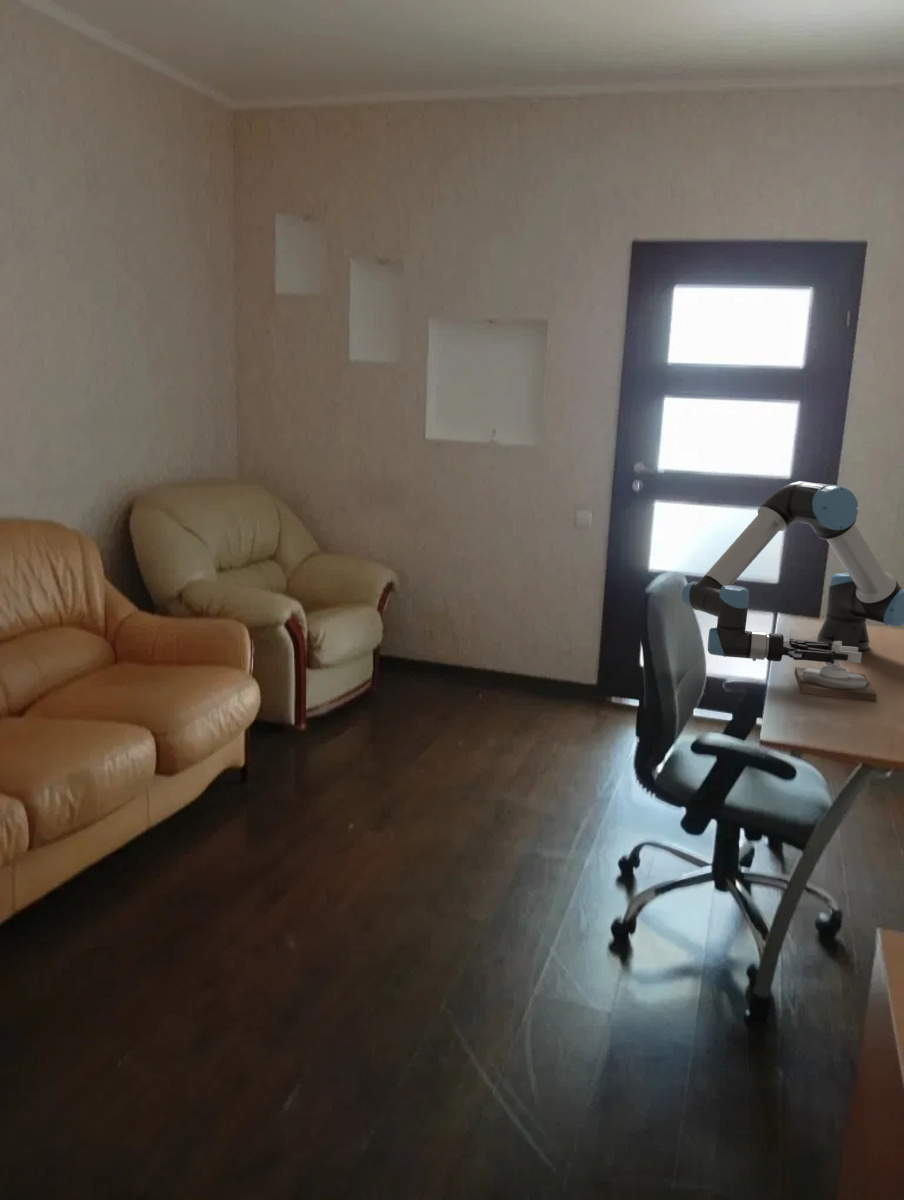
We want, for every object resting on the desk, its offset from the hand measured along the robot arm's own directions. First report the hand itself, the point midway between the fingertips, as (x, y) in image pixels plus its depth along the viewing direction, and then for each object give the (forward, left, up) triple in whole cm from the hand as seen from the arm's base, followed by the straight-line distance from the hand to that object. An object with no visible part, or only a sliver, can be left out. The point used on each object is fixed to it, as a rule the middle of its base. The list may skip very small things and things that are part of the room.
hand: (859, 655), depth 239 cm
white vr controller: (-1, -5, -6) cm, 8 cm away
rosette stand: (0, -5, -9) cm, 11 cm away
